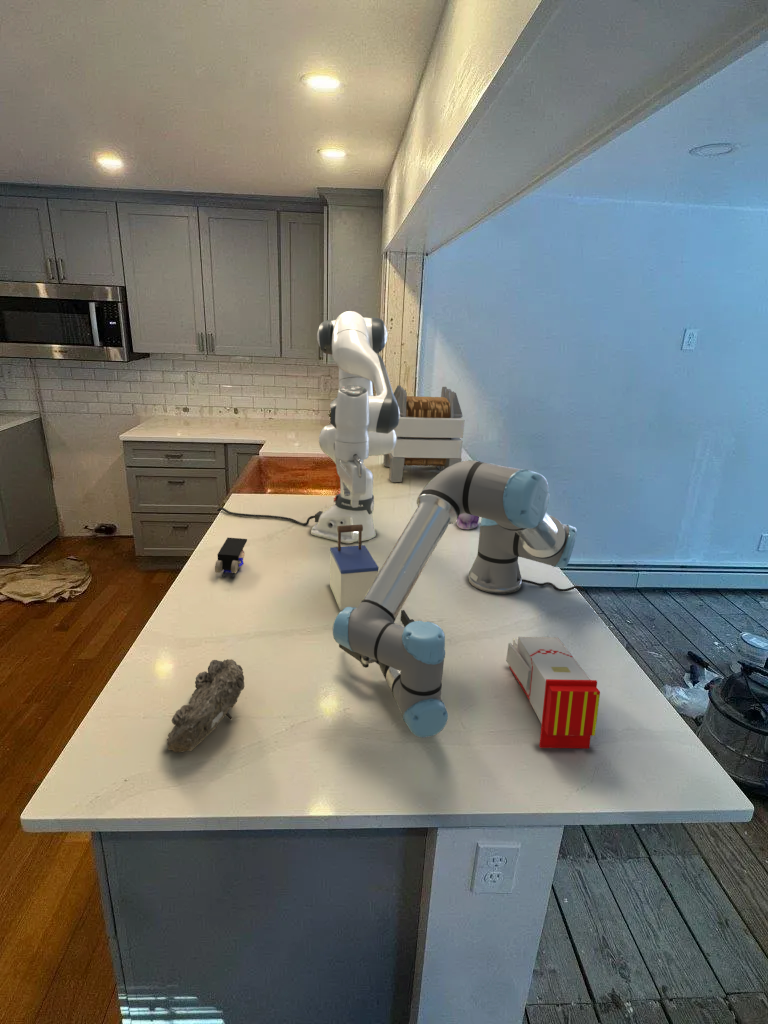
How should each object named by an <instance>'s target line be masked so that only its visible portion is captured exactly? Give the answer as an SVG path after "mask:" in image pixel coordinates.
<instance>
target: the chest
mask: <svg viewBox="0 0 768 1024" xmlns="http://www.w3.org/2000/svg"><path fill="white" fill-rule="evenodd" d="M329 553H330V555H329V562H330V563H329V587H330V589H331V591H332V594H333V596H334V599H335V601H336V604H337V606H338V609H339V612H341V611H343V609H344V608H346V607H352V608H354V607H355V608H358V606H359V604H360V603H361V601H362V600H363V598H364V597H365V595H366V593H367V592H368V590H369V588H370V587H371V585H372V583H373V581H374V580H375V578H376V576H377V575H378V573H379V570H378V571H369V572H357V573H345V574H341V573H340V571H339V568H338V566H337V564H336V562H335V560H334V558H333V556H332V554H331V552H329Z"/></svg>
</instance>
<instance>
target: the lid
mask: <svg viewBox="0 0 768 1024" xmlns="http://www.w3.org/2000/svg"><path fill="white" fill-rule="evenodd" d="M362 531H363V525H362V524H359V525H343V526H337V532H338V541H337V546H333V547H329V551H330V552H331V554H332V556H333V558H334V560H335V562H336V564H337V566H338V568H339V571H340V573H341V574H345V573H357V572H369V571H378V572H379V571H380V569H379V565H378V564H377V562H376V561H375V559H374V558H373V556H372V554H371V553H370V551H369V549H368V548H367V546H366V545H365V544H362V541H361V540H362ZM344 532H359V541H357V542H358V544H357V545H348V546H347V545H346V546H342V542H341V533H344ZM330 552H329V553H330Z"/></svg>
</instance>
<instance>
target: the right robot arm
mask: <svg viewBox="0 0 768 1024" xmlns="http://www.w3.org/2000/svg"><path fill="white" fill-rule="evenodd" d="M549 490H550V487H549V483H548V480H547V478H546V477H545V476H544V475H543V474H541V473H539V472H535V471H533V470H531V469H526V468H525V469H521V468H517V467H516V468H515V467H510V466H505V465H499V464H495V463H490V462H485V461H479V460H472V459H471V460H462V462H459V463H456V464H454V465H452V466H450V467H448V468H446V469H444V470H443V471H441V472H440V471H439V473H437V474H436V475H435V476H434V477H433V478H431V479H430V481H429V482H428V483H426V485H425V486H424V487H423V489H422V490H421V492H420V493H419V495H418V496H417V498H416V506H417V508H416V509H415V511H414V513H413V514H412V516H411V518H409V519H410V520H409V521H408V523H407V524H406V526H405V528H404V530H403V531H402V533H401V535H400V536H399V537H398V540H397V541H396V543H395V545H393V548H392V550H391V551H390V553H389V555H388V556H387V558H386V560H385V562H384V563H383V564H382V567H381V568H380V569H379V570H378V575H377V576H376V578H375V580H374V581H373V583H372V585H371V587H370V588H369V590H368V592H367V593H366V595H365V597H364V598H363V600H362V601H361V603H360V604H359V606H358V608H355V607H354V608H352V607H346V608H344V609H343V611H339V612H338V613H337V615H336V617H335V619H334V622H333V625H332V637H333V639H334V641H335V642H336V643H337V644H338V647H339V649H341V650H343V651H344V652H345V653H347V654H348V655H350V656H351V657H352V658H354V659H355V660H357V662H359V663H360V664H361V665H362V667H363V668H369V667H370V666H369V665H370V664H374V663H375V664H377V665H378V666H379V668H380V671H381V673H382V676H383V678H384V679H385V682H386V684H387V686H388V688H389V690H390V692H391V694H392V697H393V698H394V700H395V702H396V704H397V707H398V709H399V711H400V714H401V715H402V719H403V722H404V723H405V724H406V725H407V727H408V729H409V731H410V732H411V733H412V734H413V735H414V736H416V737H419V738H429V737H434V736H436V735H438V734H439V733H440V732H441V731H443V729H444V728H445V727H446V725H447V723H448V720H449V713H448V712H449V711H448V710H447V707H446V704H445V702H444V701H443V700H442V688H443V683H442V682H443V674H444V673H443V672H444V663H445V658H446V650H445V649H446V635H445V631H444V630H443V629H442V628H441V626H439V625H438V624H436V623H434V622H432V621H424V620H423V621H422V620H415V619H413V618H410V617H409V615H408V613H407V612H406V611H405V609H402V608H403V606H404V605H405V603H406V601H407V600H408V598H409V596H410V594H411V592H412V591H413V589H414V587H415V586H416V583H417V581H418V580H419V578H420V576H421V575H422V573H423V571H424V569H425V567H426V565H427V564H428V562H429V560H430V559H431V557H432V555H433V554H434V551H435V550H436V548H437V546H438V544H439V543H440V541H441V540H442V537H443V535H444V533H445V532H446V530H447V528H448V526H450V525H453V524H455V523H457V519H458V517H459V515H460V514H463V513H467V514H470V515H474V516H478V517H479V518H481V520H480V523H479V535H478V536H479V537H478V546H477V554H476V557H475V559H474V562H473V564H472V565H471V568H470V570H469V572H468V583H470V585H471V586H472V587H474V588H475V589H477V590H480V591H483V592H486V593H490V594H496V595H505V594H506V595H507V594H512V593H515V592H517V591H519V590H520V589H521V586H522V583H527V584H530V585H534V586H538V587H543V586H550V587H552V588H553V589H554V590H556V591H558V592H562V593H563V592H564V593H565V592H569V591H572V590H575V589H578V590H581V591H582V592H586V589H584V588H583V587H582V586H581V585H574V586H571V587H567V588H559V587H557V586H556V585H555V584H554V583H552V582H549V581H547V582H543V583H541V582H535V581H532V580H528V579H524V578H522V575H521V570H520V565H519V557H520V558H523V559H526V560H530V561H534V562H537V563H540V564H544V565H548V566H552V567H553V568H561V569H565V568H566V567H568V564H569V562H570V561H571V557H572V555H573V554H572V553H573V551H574V547H575V543H576V539H577V535H578V530H577V527H575V526H572V525H570V524H564V523H562V522H561V521H560V520H559V518H556V517H554V516H553V515H550V514H548V513H547V511H548V508H549V504H550V492H549ZM574 588H575V589H574ZM399 614H400V622H401V624H402V625H403V626H402V625H400V624H397V623H395V621H396V619H397V617H398V615H399Z"/></svg>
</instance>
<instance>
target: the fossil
mask: <svg viewBox="0 0 768 1024" xmlns="http://www.w3.org/2000/svg"><path fill="white" fill-rule="evenodd" d="M243 670H244V669H243V667H242V665H240V664H237V662H236V661H235V660H234V659H232V658H231V659H227V658H226V659H224V660H223V661H222V660H217V659H212V660H211V661H210V663H209V665H208V666H207V671H201V672H199V673H198V674H197V675H196V676H195V680H194V684H195V685H194V687H195V689H194V690H193V693H192V694H191V697H190V698H189V700H188V704H184V705H182V706H181V707H180V709H177V710H176V711H175V713H174V715H173V716H172V718H171V723H172V724H173V727H172V730H171V731H170V732H168V734H167V738H166V741H167V742H166V745H167V749H168V750H169V751H173V752H174V753H176V754H178V753H182V752H188V751H189V752H192V751H193V750H195V748H196V747H197V746H199V744H200V743H201V742H203V741H204V740H205V739H206V738H207V737H208V736H209V735H210V734H211V733H212V732H214V730H215V729H217V727H218V726H219V724H220V722H221V721H222V720H223V719H224V718H225V716H226V717H227V719H229V720H233V717H232V715H230V714H229V710H230V709H231V708H234V706H235V704H236V703H237V702H238V699H239V697H240V695H241V693H242V691H243V690H245V689H244V688H245V675H244V671H243Z"/></svg>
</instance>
